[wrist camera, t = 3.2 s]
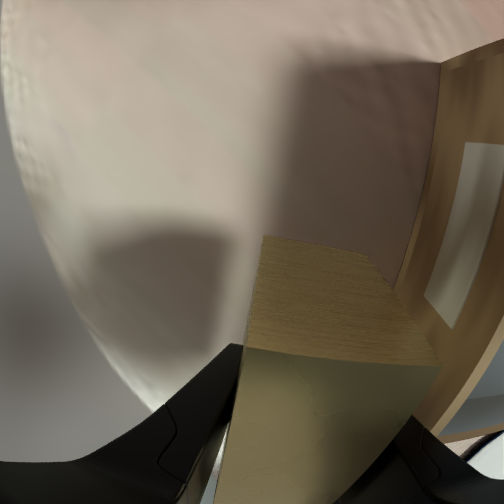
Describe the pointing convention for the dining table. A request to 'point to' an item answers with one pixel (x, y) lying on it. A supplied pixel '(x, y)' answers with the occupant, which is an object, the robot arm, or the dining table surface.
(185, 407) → the robot arm
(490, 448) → the plate
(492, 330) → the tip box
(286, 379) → the wooden block
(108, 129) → the dining table surface
